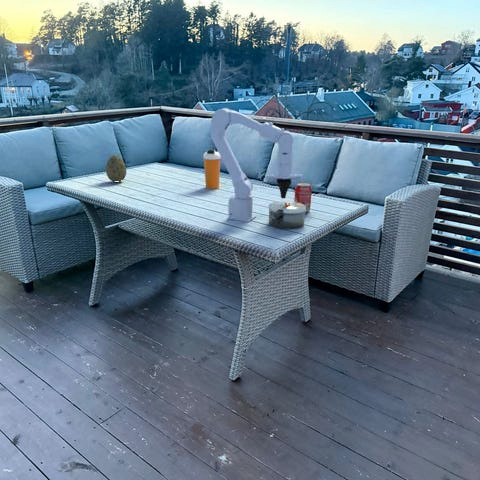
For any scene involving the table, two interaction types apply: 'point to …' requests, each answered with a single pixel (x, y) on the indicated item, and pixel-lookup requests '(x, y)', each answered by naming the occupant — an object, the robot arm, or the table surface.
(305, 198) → the soda can
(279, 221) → the cooker pot
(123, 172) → the decorative egg
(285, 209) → the lid
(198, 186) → the table surface
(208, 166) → the shaker bottle
